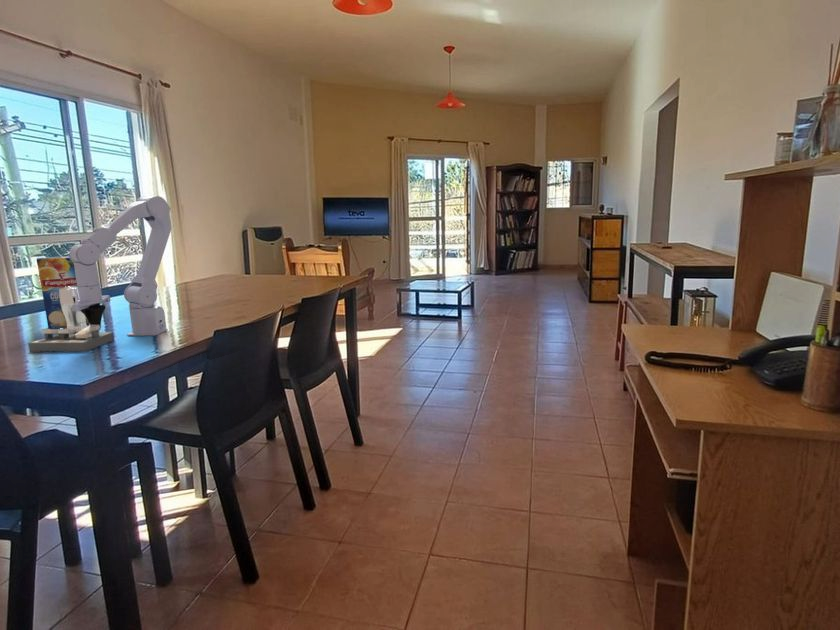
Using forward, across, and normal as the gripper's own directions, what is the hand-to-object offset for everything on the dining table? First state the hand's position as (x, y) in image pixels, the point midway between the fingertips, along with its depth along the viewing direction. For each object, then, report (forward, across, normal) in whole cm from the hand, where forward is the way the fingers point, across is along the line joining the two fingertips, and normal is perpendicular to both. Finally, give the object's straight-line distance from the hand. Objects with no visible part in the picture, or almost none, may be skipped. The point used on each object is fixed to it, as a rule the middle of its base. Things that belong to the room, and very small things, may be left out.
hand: (96, 329), depth 155 cm
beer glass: (+4, -13, -16) cm, 21 cm away
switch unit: (+4, +4, -5) cm, 7 cm away
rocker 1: (0, +4, -10) cm, 11 cm away
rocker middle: (0, +4, -5) cm, 6 cm away
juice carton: (+5, -24, -26) cm, 35 cm away
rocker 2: (0, +4, 0) cm, 4 cm away
